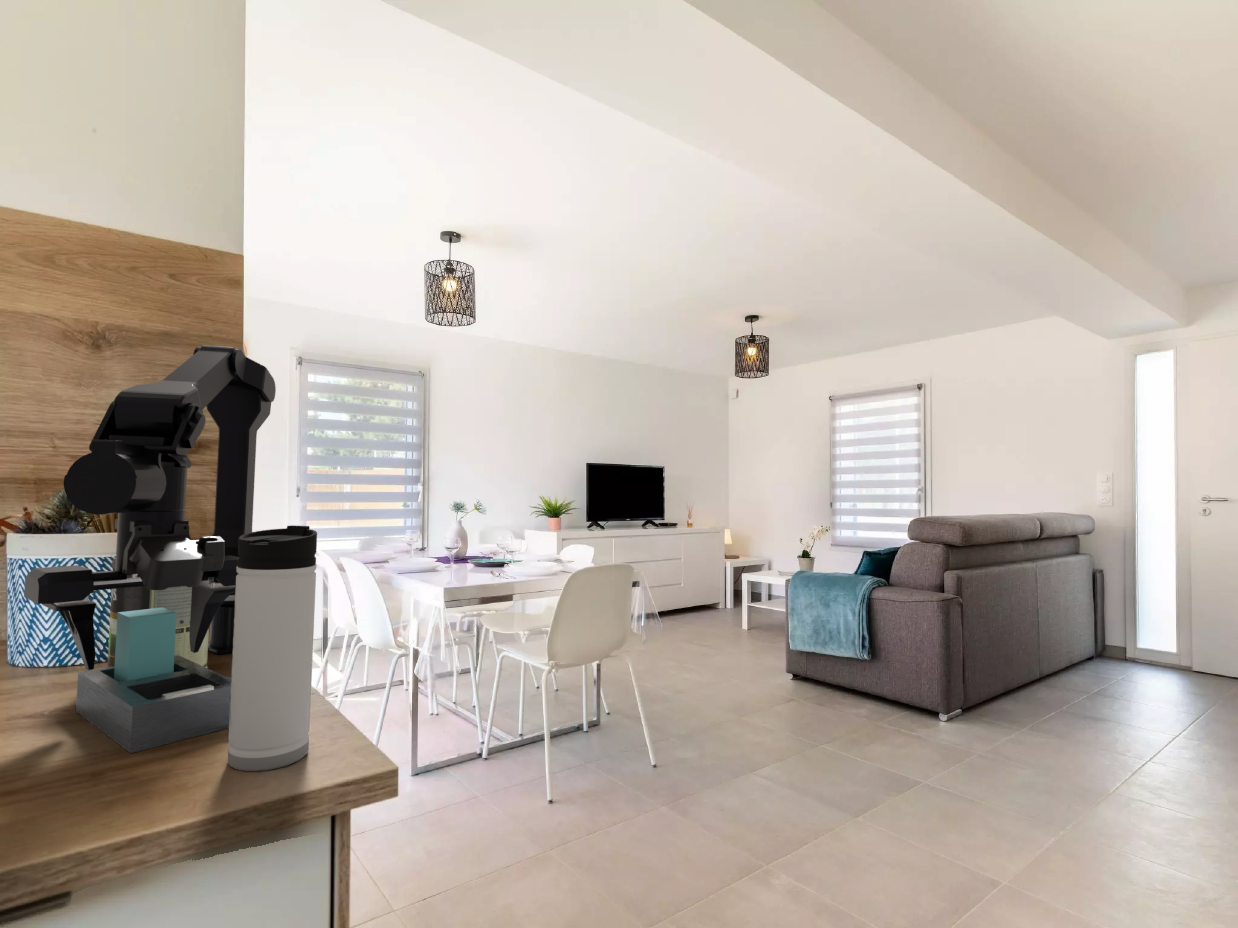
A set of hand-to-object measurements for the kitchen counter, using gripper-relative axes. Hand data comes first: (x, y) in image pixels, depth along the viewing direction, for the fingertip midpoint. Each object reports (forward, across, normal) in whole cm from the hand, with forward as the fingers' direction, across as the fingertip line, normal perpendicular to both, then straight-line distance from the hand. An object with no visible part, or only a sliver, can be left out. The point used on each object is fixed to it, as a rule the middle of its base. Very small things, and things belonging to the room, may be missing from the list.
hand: (144, 660), depth 68 cm
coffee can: (+5, +6, +12) cm, 15 cm away
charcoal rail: (+5, 0, -4) cm, 6 cm away
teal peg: (+5, 0, 0) cm, 5 cm away
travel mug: (+5, +3, -22) cm, 22 cm away
